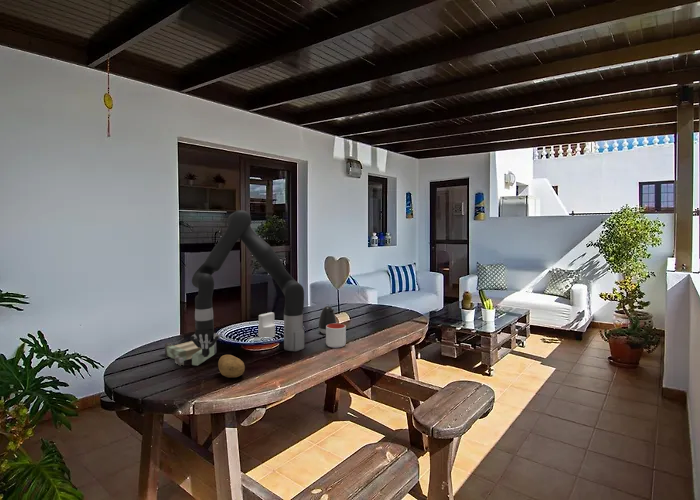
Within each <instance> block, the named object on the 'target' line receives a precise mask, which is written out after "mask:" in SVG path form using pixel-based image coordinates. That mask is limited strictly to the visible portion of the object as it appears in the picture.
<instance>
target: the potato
mask: <svg viewBox="0 0 700 500" xmlns="http://www.w3.org/2000/svg"><path fill="white" fill-rule="evenodd" d="M217 366H218V367H217V368H218V370H219V373H220V374H221V375H222V376H224V377H225V378H228V379H229V378H234V379H235V378H236V379H237V378H238V377H240V376H242V375H243V374H244V372H245V369H246V366H245V363H244V361H243V360H241V359H240V358H238V357H236V356H234V355H232V354H224V355H223V354H222V356H220V358H219V360H218V362H217Z"/></svg>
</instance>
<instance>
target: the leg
mask: <svg viewBox="0 0 700 500" xmlns="http://www.w3.org/2000/svg"><path fill="white" fill-rule="evenodd" d="M211 343H212V341H210V344H211ZM209 350H210V354H209V355H208V357H204V356H203V355H202V349H201V350H199V351H198V352H196V353H195V354H193V355H192V359H191V365H192V366H199V365H201V364H202V363H204V362H205V361H207V360H209V359H210V358H211V357H213V356H214V355H216V354H217V341H216V342H215V344H214V345H213V346H212V347H210V348H209Z"/></svg>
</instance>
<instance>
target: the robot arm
mask: <svg viewBox="0 0 700 500" xmlns="http://www.w3.org/2000/svg"><path fill="white" fill-rule="evenodd" d="M226 222H227V226H228V228H227V229H226V231H225V233H224V234H223V236H222V237H221V238H220V239H219V240H218V242H217V243H216V244H215V246H214V247H213V248H212V250H211V251H210V253H209V254H208V256H207V257H206V259H205V260H204V262H203V263H202V264H201V265H200V266H199V267H198V268H197V269H196V271H195V272H194V273H193V275H192V278H191V283H192V285H193V287H195V288H197V290H198V292H197V295H195V298H194V307H195V309H194V310H195V311H194V320H195V321H194V323H195V324H194V325H195V330H194V331H195V332H194V334H192V335H191V336H190V337H189V339H190V341H193V343H194V344H195V345H196V346H197V347H198V348H199V347H200V348H202V355H203V356H204V357H208V355H209V354H210V350H209V348H210V347H212V346H213V345H214V344H215V342H216V343H217V341H218V340H219V338H220V337H221V335H220V334H217V333H216V330H215V326H214V325H215V324H214V322H215V321H214V309H213V295H214V294H213V293H214V289H215V280H214V277H213V276H212V275H213V274H214V273H216V272H218V271H219V270H220V269H221V268H222V266H223V264H224V263H225V261H226V259H228V258H227V257H228V255H229V254H230V252H231V251H232V250H233V247H234V246H235V244H236V243H237V241H238V240H239V239H240V240H241V242H242V243H243V244H244V245H245V246H246V248H247V249H248V251H249V252H250V253H251V255H252V256H253V257H254V259H255V261H256V262H257V263H258V264H259V265H260V266H261V268H262V269H263V270H264V271H265V272H266V274H268V275H269V276H270V277H271V278H272V279H273V280H274V281H275V282H276V285H278V287H279V288H280V290H281V292H282V293H283V296H284V309H283V349H284V350H285V351H289V352H299V351H300V350H303V349H305V329H304V322H303V321H304V314H303V313H304V307H305V289H304V287H303V285H302V284H301V283H299V282H298V281H296V279H294V277H292V275H291V274H290V273H289V272H288V271H287V269H286V267H285V265H284V264H283V261H282V260H281V258H280V257H279V256H278V254H277V252H276V251H275V250H274V249H273V247H272V246H271V245H270V244H269V243H268V242H266V241H265V240H264V239H263V238H262V237H260V236H259V235H258V234H257V233H256V232H255V231H254V230H253V228H252V227H251V226H250V225H251V223H252V217H251V214H250V213H249V212H248V211H246V210H244V209H240V210H235V211H234V212H232V213H230V214H229V215H228V217H227V221H226ZM212 338H213V340H212V341H211V339H212ZM211 342H212V343H211ZM210 343H211V344H210Z"/></svg>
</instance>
